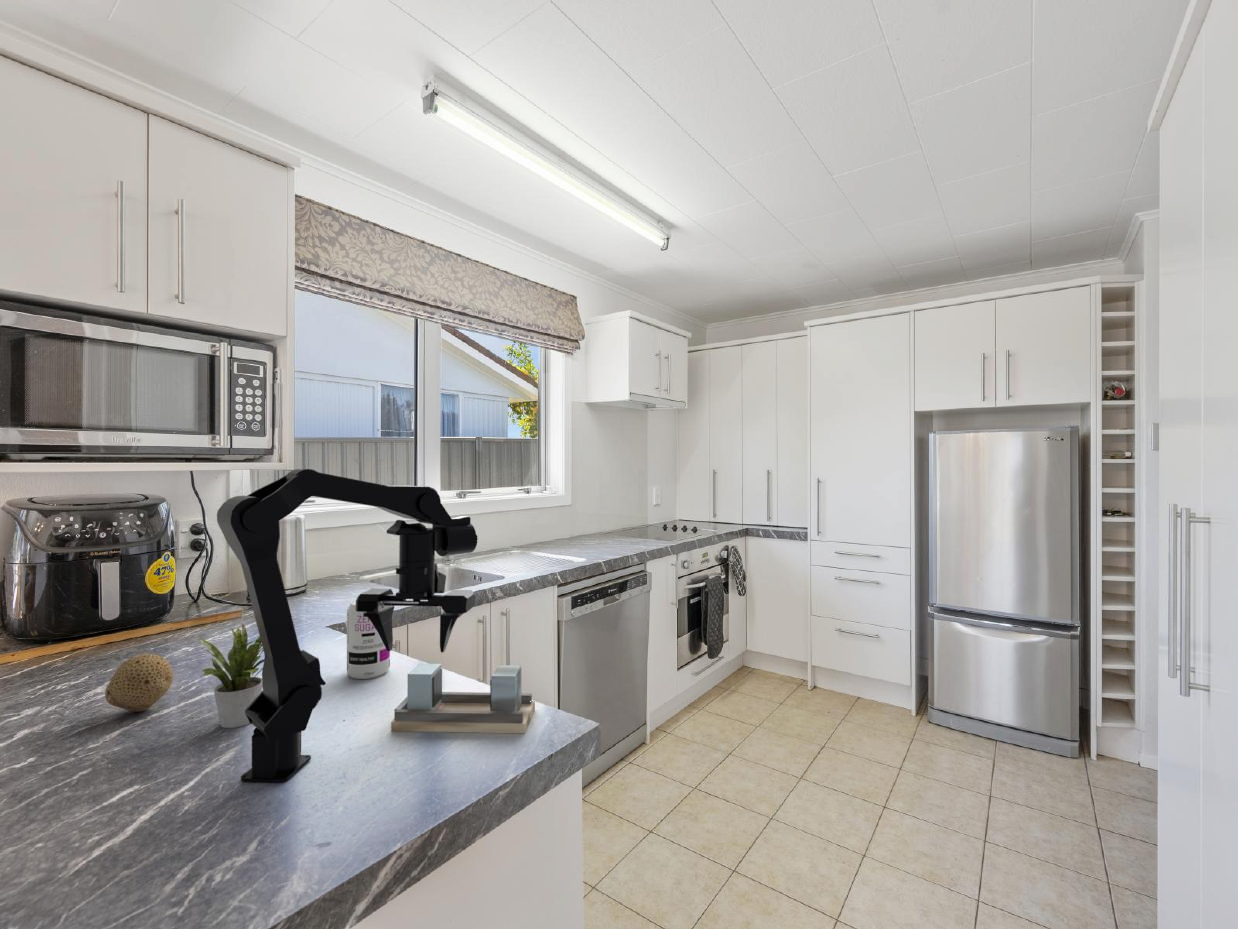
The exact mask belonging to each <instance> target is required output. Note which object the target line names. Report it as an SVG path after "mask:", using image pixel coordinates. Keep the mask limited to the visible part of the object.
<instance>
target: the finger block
mask: <svg viewBox="0 0 1238 929" xmlns="http://www.w3.org/2000/svg"><path fill="white" fill-rule="evenodd" d="M406 690H407V696H406V697H407V710H437V709H438V707H439V706H440V705H441V698H442V692H443V668H442V663H418V664H416V666H414V667H413V669H411V670H410V671H409V672H408V673H407V689H406Z"/></svg>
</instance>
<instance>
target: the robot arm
mask: <svg viewBox="0 0 1238 929" xmlns="http://www.w3.org/2000/svg"><path fill="white" fill-rule="evenodd" d="M311 497H315V498H320V499H326V500H333V501H337V502H338V501H339V502H345V503H349V504H350V503H351V504H355V505H356V504H357V505H363V506H368V507H375V508H377V509H381V510H382V511H385V512H387V513H389V514H392V515H395V516H397V517H399V518H400V517H401V518H403V519H409V520H415V521H417V523H407V522H406V521H405V520H401V519H396V521H395V522H394V524H392V525H391V526H389V528H387V530H386V535H394V536H399V543H398V544H399V545H398V548H399V549H398V550H399V551H398V552H399V553H398V554H399V558H398V559H399V560H398V561H399V562H398V567H396V568H395V575H398V591H396V592H395V594H394V592H393V590H392V588H371V589H368V590H366V591H363V592H362V593H360V594H359V595H358V596H356V599H355V600H356V611H357V612H365V613H363V616H364V617H368V618H369V619H370V621H371V622H372V624H373V625H374V627H375V628H376V630H377V632H378V634H379V636H380V638H381V640H382V642H383V644H384V646H385V648H386V650H387V651H390V652H391V651H392V650H393V644H394V643H393V642H394V636H393V615H394V614H393V613H394V610H395V606H397V607H403V606H405V607H441V609H442V610H443V611H444V612H443V613H441V614H440V616H439V617H440V618H439V649H440V650H439V651H440V653H441V654H442V653H444V652H446V649H447V646H448V643H449V640H450V638H451V634H452V632H453V629H454V627H455V624H456V622H457V620H458V619H459V618H461V617H462V615H463V614H467V613H468V612H470V611H471V610H472V609H473V608H474V607H475V606H476V595H475V594H476V593H474V592H473V590H472V589H451V590H450V591H448V592H447V593H445V588H446V582H447V575H446V574H443V573H442V572H441V571H439V570H438V563H437V562H435V557H436V555H435V553H437V555H438V556H440V557H448V556H450V557H451V556H455V555H465V554H472V553H473V552H474V551H475V550H476V549H477V546H478V535H477V532H476V529H475V527H474V525H473V524H472V523H471V519H472V518H471V516H465V515H462V516H461V515H459V516H456V517H451V516H450V514H449V513H448V511H447V510H446V508H445V507H444V505H443V504H442V502H441V497H440V494H439V493H438V491H437V490H436V489H435V487H434V488H433V487H430V486H424V485H420V486H419V485H385V484H380V483H375V482H369V481H364V480H359V479H353V478H350V477H349V478H348V477H344V476H340V475H333V474H328V473H323V472H319V471H317V470H315V469H312V468H295V469H293V470H291V471H289V472H287V474H285V475H283V476H282V477H280V478H279V479H276V480H274V481H272V482H270V483H268V484H266V485H264V486H262V487H259V488H258V489H255V490H254V491H252V492H251V493H249V494H248V495H236V496H233V497H230V498H228V499H227V500H226V501H224V502H223V503H222V505H220V507H219V509H217V513H216V522H217V524H218V525H217V526H218V527H219V528H220V530H221V533H222V534H223V536H224V538H225V540H226V543H227V544H228V546H229V547H230V549H231V550H232V552H233V554H234V555H235V557H236V558H237V560H238V561H239V563H240V565H241V569H242V573H243V576H244V580H245V585H246V588H247V591H248V597H249V599H250V603H251V606H252V611H253V615H254V619H255V622H256V627H257V630H258V633H259V634H258V635H259V636H260V639H261V642H262V643H261V644H262V648H263V649H262V651H263V650H264V651H263V653H264V662H263V666H262V668H263V669H262V670H261V671H262V672H261V678H262V685H263V687H262V692H261V693H260V694H259V695H258V696H257V698H256V699H255V700H254V701H253V702H252V703H251V704H250V705H249V707H248V708H247V709H246V710H245V714H246V717H247V719H248V721H249V723H250V725H252V726H254V729H253V735H251V768H250V769H249V770H248V771H246V772H244V773H243V774H241V776H240V781H241V782H261V783H262V782H267V783H270V782H271V783H284V782H287V781H288V780H289V779H290V778H292V776H294V775H295V774H296V773H297V772H299V770H301V768H302V767H304V766H305V765H306V764H307V763H308V762H310V761H311V760H312V755H310V754H302V732H304V731H306V729H307V726H308V723H309V721H310V718H311V715H312V713H313V710H314V709H315V708H316V707H317V705H318V704H319V701H320V700H321V699H322V696H323V688H322V686H325V685H326V684H327V683H326V681H325V680H324V679H323V676H322V674H321V663H320V659H319V657H317V656H315V655H313V654H311V653H309V652H308V651H306V650H304V649H302V650H301V648H300V644H299V641H298V637H297V633H296V629H295V624H294V620H293V618H292V613H291V609H290V605H289V601H288V597H287V592H286V589H285V585H284V584H285V583H284V581H283V577H282V573H281V569H280V564H279V560H278V551H279V544H280V539H281V532H280V530H281V529H280V527H281V526H280V521H281V520H283V519H284V518H286V517H288V516H289V515H290V514H292V513H293V512H294V511H296V509H298V507H300V506H301V505H302V504H303V503H304V502H305V501H307V500H309V499H310V498H311ZM425 524H426V525H427V524H428V525H431V526H432V527H427V526H426V525H425ZM444 593H445V594H444Z"/></svg>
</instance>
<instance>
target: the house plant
mask: <svg viewBox="0 0 1238 929" xmlns="http://www.w3.org/2000/svg"><path fill="white" fill-rule="evenodd" d="M229 629H230V630H231V633H232V635H233V641H232V642H233V644H232V648H231V649H229V651H228V653H227V660H228V661H227V660H226V658H225V656H224V655H223V653H222V652H221V651H220V650H219V649H218V647H217V646H215V645H214V644H213V643H211V642H209V641H207V640H205V639H202V638H196V637H195V639H196V640H198V641H200V642H202V643H203V644H204V645H205V646H206V647H207V648H209V650H208V649H206V648H202V647H201V649H202V650H203V651H206V653H207V652H208V653H209V654H210V655H211V656H212V657H211V661H212V666H213V668H211V667H209V668H208V667H207V668H203V669H201V671H202V672H203V674H202V675H201V677H203V676H204V677H205V676H208V675H212V676H214V677H216V678H217V679H218V680H219V681H220V682H221V683H219V684H217V685H215V686H214V688H213V693H214V699H215V703H216V709H217V715H218V719H219V724H220V725H219V726H220V727H222V728H224V729H226V728H227V729H234V728H235V729H236V728H240V727H243V726H246V725H249V724H250V723H249V721H248V719H247V717H246V714H245V710H246V709H247V708H248V707H249V705H250V704H251V703H252V702H253V701H254V700H255V699H256V698H257V696H258V695H259V694H260V693H261V692H262V691H263V685H262V677H258V676H257V675H258V674H259V673H260V672H261V671H263V667H261V668H259V667H258V666H259V665H261V664H262V663H264V659H265V658H264V659H261V660H260V658H262V656H261V655H262V654H263V653H264V650H263V646H262V642H261V639H260V635H259V636H258V637H257V638H256V639H254V640H253V641H250V642H248V641H249V638H248V632H247V630H246V629H247V628H246V626H245V625H244V623H243V622H242V623H241V629H240V628H239V627H238V628H237V629H236V630H235V631H234V629H233V628H232V627H231V626H229ZM217 660H218V661H219V662H217ZM258 660H260V661H258ZM257 661H258V662H257ZM219 663H220V664H219ZM221 665H222V667H223V668H224V669H223V668H222V667H221ZM259 669H260V670H259ZM224 670H225V671H224ZM254 674H255V675H254ZM250 725H251V724H250Z"/></svg>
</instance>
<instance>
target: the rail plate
mask: <svg viewBox="0 0 1238 929" xmlns="http://www.w3.org/2000/svg"><path fill="white" fill-rule="evenodd" d="M489 682H490V683H489V684H490V686H489V687H490V689H489V690H490V691H489V692H473V691H472V692H470V691H469V692H468V691H465V692H462V691H459V692H458V691H442V698H441V705H440V706H439V707H438V709H437V710H407V696H406V697H405V698H404V699H403V700H402V701H401V702H400V703H399V704H398V705H397V706H396V707H395V708H394V710H393V711H394V717H393V719H392V720H391V722H390V732H423V733H425V732H426V733H430V732H431V733H436V732H437V733H481V734H482V733H483V734H484V733H485V734H525V733H526V731H527V729H528V726H529V725H530V721H531V720H532V718H533V715H534V712H535V710H536V706H535V705H536V702H535V701H534V700H532V699H533V697H532V696H533V694H532V692H531V693H530V692H525V693H524V692H522V665H508V664H507V665H503V664H502V665H501V664H500V665H497V667H496V669H495V670H494V671H493V673H492V674H491V676H490V681H489ZM530 701H531V702H530Z"/></svg>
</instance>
